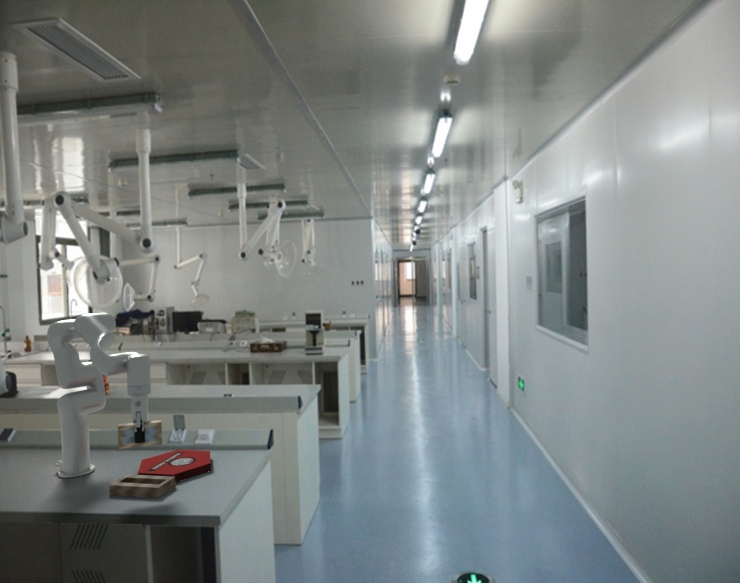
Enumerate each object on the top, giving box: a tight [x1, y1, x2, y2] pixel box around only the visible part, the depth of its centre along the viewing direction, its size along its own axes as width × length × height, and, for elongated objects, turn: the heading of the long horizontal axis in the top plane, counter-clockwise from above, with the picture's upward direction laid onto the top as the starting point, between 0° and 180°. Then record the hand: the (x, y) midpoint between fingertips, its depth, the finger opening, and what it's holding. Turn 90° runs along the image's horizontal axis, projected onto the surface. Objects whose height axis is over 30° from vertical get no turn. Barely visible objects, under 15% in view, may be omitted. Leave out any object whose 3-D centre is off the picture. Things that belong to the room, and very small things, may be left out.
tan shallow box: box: [108, 473, 176, 499], centre depth 182 cm, size 19×10×4 cm, turn 79°
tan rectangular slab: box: [117, 419, 163, 450], centre depth 182 cm, size 14×3×8 cm, turn 109°
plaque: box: [137, 449, 212, 483], centre depth 203 cm, size 27×4×30 cm
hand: (140, 440), depth 182 cm, fingers closed on tan rectangular slab, 3 cm apart
